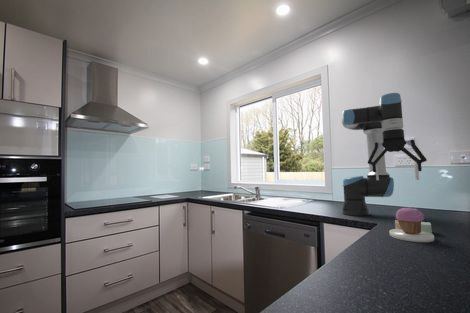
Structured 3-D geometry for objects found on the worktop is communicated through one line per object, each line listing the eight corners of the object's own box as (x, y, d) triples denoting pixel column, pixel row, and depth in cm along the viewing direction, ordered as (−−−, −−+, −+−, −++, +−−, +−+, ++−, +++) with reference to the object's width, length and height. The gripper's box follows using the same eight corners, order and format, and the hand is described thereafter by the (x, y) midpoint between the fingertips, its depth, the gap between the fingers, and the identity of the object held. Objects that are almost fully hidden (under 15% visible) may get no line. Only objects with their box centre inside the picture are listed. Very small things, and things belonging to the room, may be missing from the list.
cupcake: (430, 234, 86) (428, 208, 87) (414, 237, 83) (412, 209, 84) (407, 229, 94) (404, 205, 95) (391, 231, 92) (389, 206, 92)
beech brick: (395, 229, 102) (394, 220, 102) (406, 229, 100) (405, 220, 100) (396, 232, 97) (395, 222, 97) (408, 233, 95) (407, 223, 95)
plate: (388, 231, 98) (388, 227, 98) (430, 234, 91) (429, 230, 91) (390, 239, 86) (390, 235, 86) (438, 244, 79) (438, 239, 79)
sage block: (419, 230, 98) (418, 221, 98) (431, 232, 95) (430, 222, 95) (419, 233, 93) (418, 224, 93) (432, 235, 90) (431, 225, 91)
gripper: (359, 132, 99) (362, 180, 97) (433, 124, 86) (438, 180, 85) (359, 134, 105) (362, 179, 104) (428, 127, 92) (433, 179, 91)
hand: (396, 180), depth 94 cm, fingers open, 13 cm apart
